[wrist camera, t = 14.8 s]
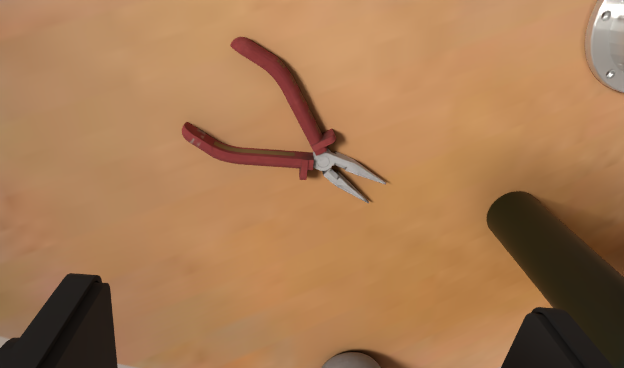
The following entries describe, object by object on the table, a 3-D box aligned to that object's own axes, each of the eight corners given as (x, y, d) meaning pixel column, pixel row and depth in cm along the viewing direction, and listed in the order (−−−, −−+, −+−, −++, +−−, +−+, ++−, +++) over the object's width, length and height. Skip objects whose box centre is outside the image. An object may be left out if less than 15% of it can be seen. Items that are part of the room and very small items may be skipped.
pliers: (343, 225, 47) (346, 238, 45) (180, 130, 41) (173, 139, 39) (409, 146, 43) (416, 155, 41) (240, 28, 37) (237, 32, 35)
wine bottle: (530, 234, 48) (836, 558, 21) (482, 236, 48) (730, 565, 21) (543, 190, 46) (907, 494, 19) (491, 191, 45) (787, 502, 19)
